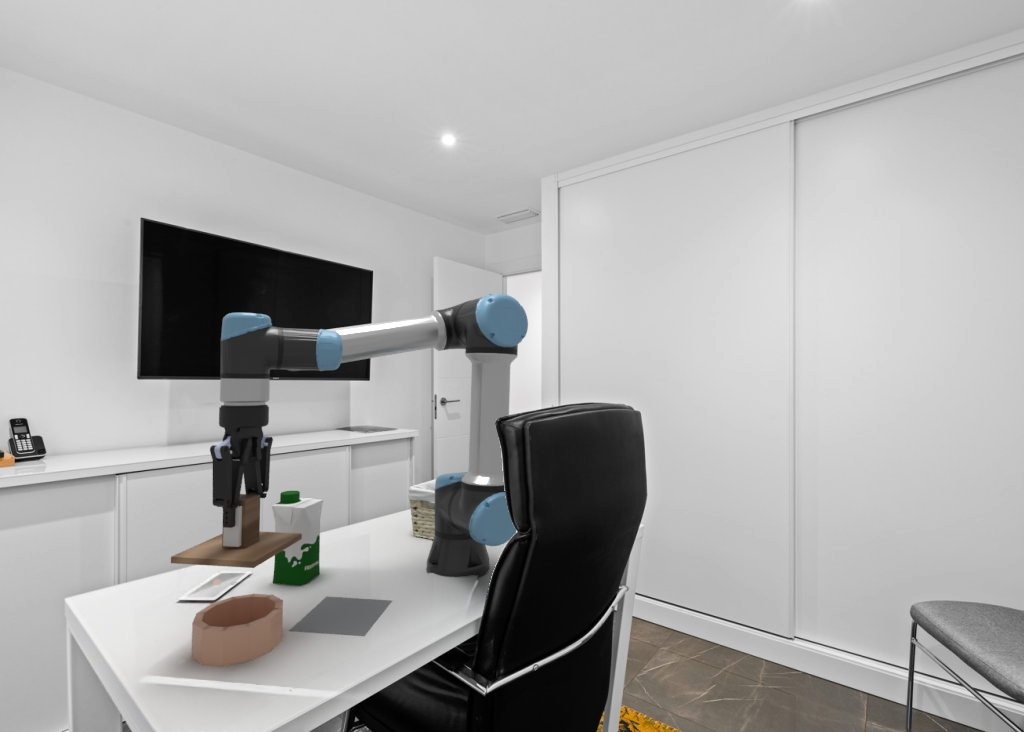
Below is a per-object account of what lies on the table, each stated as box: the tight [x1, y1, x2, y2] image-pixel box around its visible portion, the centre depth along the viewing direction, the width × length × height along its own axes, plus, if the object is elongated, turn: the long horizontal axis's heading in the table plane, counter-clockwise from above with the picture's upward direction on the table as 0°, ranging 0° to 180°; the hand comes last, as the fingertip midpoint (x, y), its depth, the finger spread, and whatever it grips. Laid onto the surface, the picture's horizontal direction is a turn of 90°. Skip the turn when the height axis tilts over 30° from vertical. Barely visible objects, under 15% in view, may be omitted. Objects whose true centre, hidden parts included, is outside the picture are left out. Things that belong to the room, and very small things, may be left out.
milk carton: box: [271, 490, 324, 587], centre depth 112 cm, size 9×9×20 cm
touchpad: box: [176, 570, 253, 601], centre depth 109 cm, size 8×15×2 cm, turn 0°
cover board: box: [170, 493, 302, 569], centre depth 85 cm, size 14×14×9 cm
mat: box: [288, 596, 393, 637], centre depth 95 cm, size 14×14×1 cm
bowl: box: [191, 593, 284, 667], centre depth 85 cm, size 13×13×6 cm
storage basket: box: [408, 478, 437, 541], centre depth 152 cm, size 24×16×15 cm
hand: (241, 540), depth 85 cm, fingers closed on cover board, 4 cm apart
